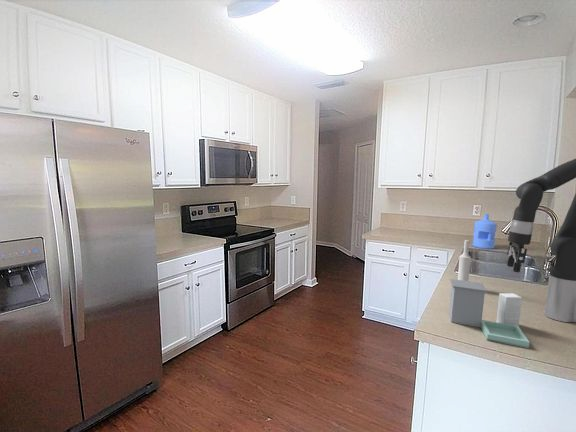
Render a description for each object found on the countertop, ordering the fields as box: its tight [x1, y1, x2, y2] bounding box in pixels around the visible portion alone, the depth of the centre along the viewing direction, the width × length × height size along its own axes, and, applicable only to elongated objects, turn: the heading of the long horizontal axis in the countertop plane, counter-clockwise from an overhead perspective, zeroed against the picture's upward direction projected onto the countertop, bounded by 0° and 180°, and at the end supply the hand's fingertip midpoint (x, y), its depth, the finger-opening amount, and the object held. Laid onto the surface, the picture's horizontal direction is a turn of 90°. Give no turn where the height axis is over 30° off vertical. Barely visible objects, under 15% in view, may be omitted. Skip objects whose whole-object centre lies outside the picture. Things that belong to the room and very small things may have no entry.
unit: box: [448, 278, 488, 328], centre depth 120 cm, size 11×9×15 cm
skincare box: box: [495, 292, 523, 328], centre depth 117 cm, size 6×4×12 cm
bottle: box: [457, 239, 472, 281], centre depth 156 cm, size 5×5×25 cm
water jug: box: [472, 213, 498, 250], centre depth 255 cm, size 16×16×28 cm
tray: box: [480, 319, 531, 349], centre depth 109 cm, size 12×12×2 cm
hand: (512, 269), depth 128 cm, fingers open, 8 cm apart
